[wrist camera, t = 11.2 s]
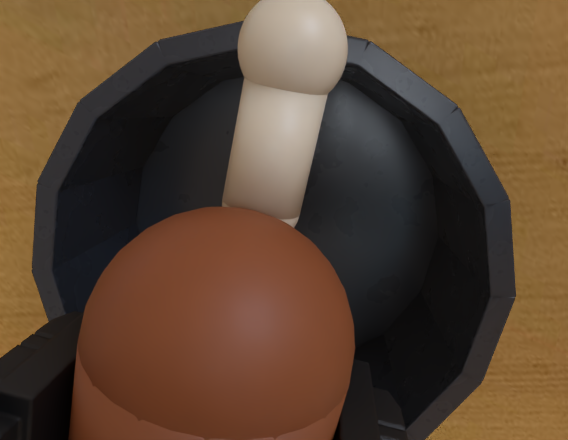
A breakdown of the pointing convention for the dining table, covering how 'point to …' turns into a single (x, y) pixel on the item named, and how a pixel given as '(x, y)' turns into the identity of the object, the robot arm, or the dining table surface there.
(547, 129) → the dining table surface
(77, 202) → the pan
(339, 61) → the drumstick
